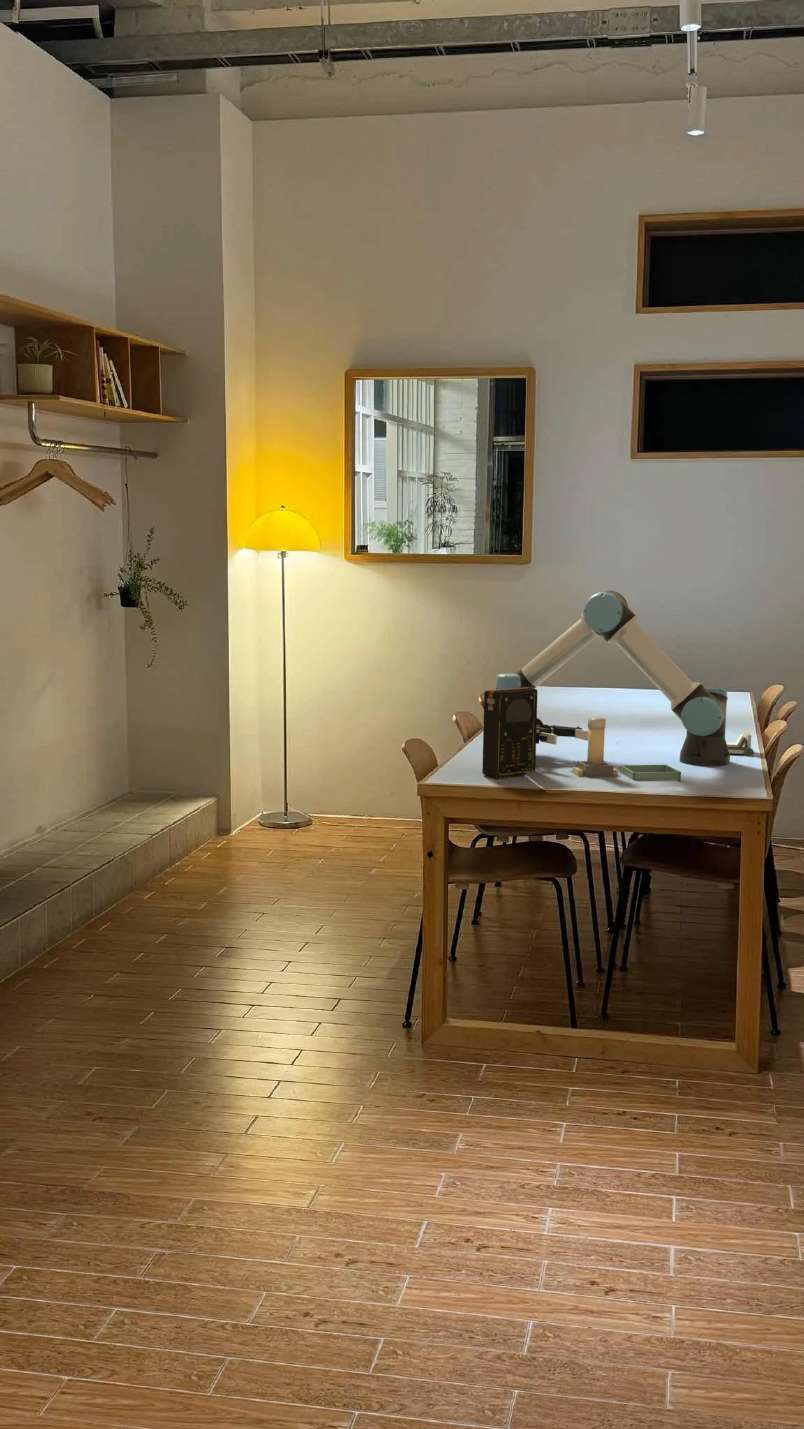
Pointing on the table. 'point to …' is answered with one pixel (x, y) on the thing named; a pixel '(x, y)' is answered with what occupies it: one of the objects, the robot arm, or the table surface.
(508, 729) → the voltmeter
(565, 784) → the table surface
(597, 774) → the fuse holder
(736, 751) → the phone holder
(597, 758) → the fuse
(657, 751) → the table surface
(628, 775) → the tray
